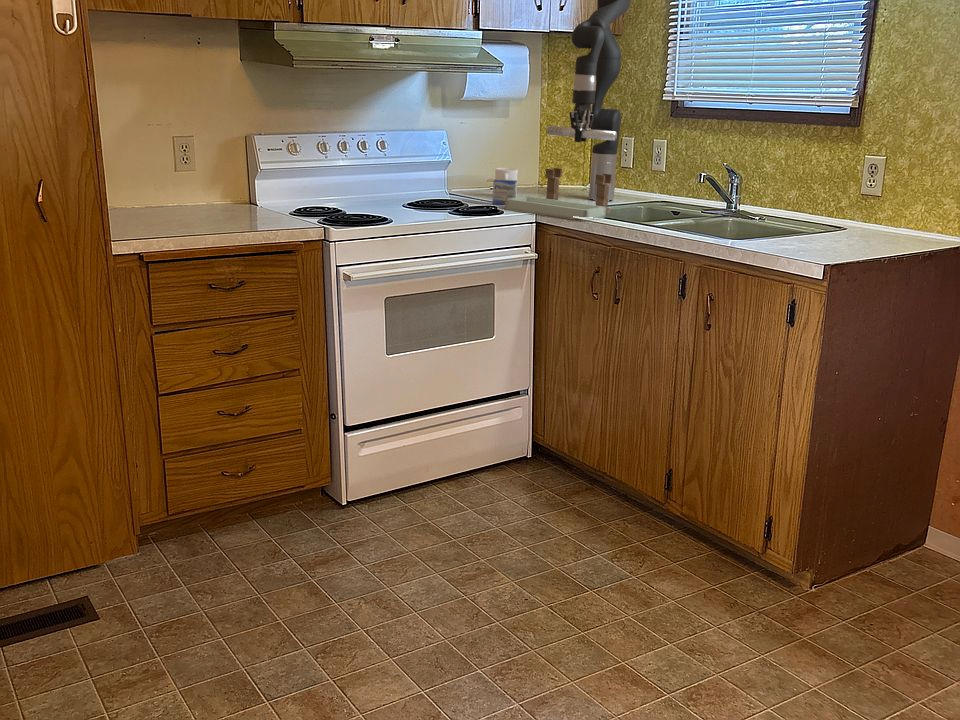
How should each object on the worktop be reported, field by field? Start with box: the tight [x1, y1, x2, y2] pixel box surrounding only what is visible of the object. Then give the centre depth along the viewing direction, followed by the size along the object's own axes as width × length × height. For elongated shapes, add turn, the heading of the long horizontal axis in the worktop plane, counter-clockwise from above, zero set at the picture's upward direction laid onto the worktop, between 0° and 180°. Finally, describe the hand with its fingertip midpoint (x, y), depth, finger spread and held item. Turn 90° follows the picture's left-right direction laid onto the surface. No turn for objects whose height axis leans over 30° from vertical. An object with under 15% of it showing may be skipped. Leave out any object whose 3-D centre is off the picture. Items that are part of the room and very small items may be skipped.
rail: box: [546, 125, 617, 141], centre depth 315 cm, size 3×26×3 cm, turn 54°
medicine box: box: [491, 178, 518, 206], centre depth 326 cm, size 8×4×9 cm, turn 83°
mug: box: [494, 167, 519, 195], centre depth 343 cm, size 12×8×10 cm
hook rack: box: [544, 167, 612, 215], centre depth 321 cm, size 6×24×13 cm, turn 53°
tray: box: [504, 195, 607, 220], centre depth 311 cm, size 13×32×4 cm, turn 54°
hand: (580, 141), depth 315 cm, fingers closed on rail, 3 cm apart
